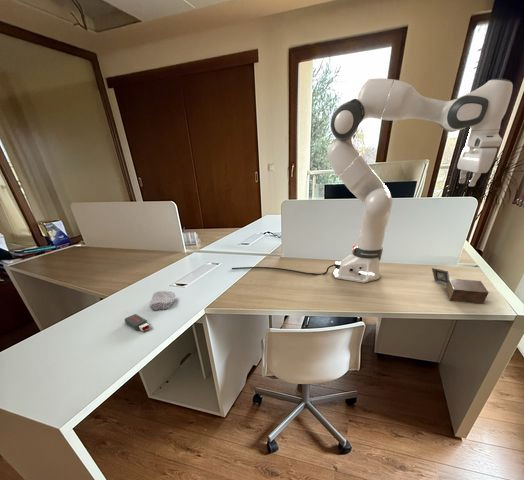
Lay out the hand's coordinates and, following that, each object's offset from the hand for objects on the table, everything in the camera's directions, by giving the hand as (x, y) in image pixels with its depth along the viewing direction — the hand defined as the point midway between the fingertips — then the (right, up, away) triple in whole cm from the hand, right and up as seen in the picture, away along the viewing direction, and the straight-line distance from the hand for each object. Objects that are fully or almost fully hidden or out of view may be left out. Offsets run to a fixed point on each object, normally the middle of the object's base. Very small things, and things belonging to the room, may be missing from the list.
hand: (466, 184), depth 110 cm
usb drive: (-129, -55, +3) cm, 140 cm away
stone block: (-123, -44, +17) cm, 132 cm away
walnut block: (+6, -41, +11) cm, 43 cm away
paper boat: (+3, -33, +23) cm, 40 cm away
